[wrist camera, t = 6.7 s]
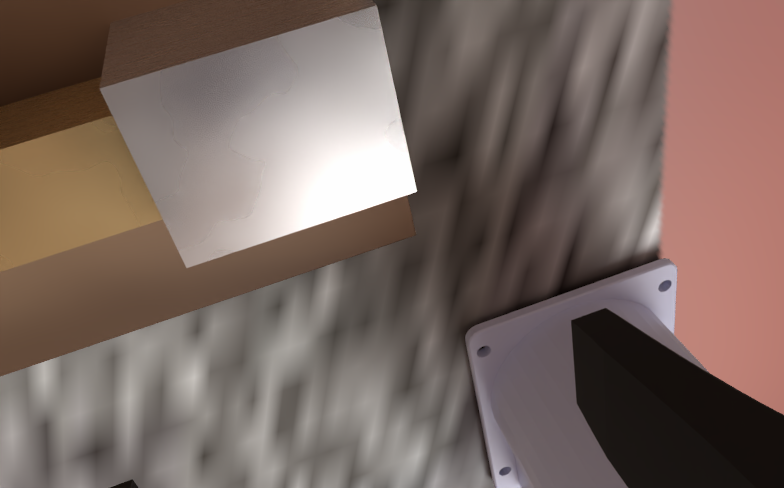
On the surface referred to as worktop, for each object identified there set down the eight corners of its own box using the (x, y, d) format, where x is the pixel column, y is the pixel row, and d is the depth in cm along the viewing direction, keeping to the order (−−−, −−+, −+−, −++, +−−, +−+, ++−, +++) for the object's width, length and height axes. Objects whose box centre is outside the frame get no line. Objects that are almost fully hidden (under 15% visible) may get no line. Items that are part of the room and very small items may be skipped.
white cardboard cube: (370, 117, 18) (416, 191, 15) (180, 178, 18) (186, 268, 14) (331, -42, 16) (376, 5, 12) (110, 22, 15) (99, 88, 12)
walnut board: (406, 217, 21) (416, 234, 20) (-98, 387, 20) (-109, 413, 19) (294, -261, 14) (303, -264, 13) (-507, -58, 13) (-552, -47, 12)
